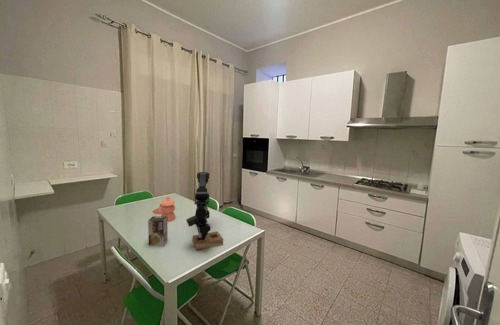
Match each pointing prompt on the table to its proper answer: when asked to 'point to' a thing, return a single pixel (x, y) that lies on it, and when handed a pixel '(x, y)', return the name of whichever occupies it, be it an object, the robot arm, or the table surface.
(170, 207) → the ceramic vessels
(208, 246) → the bore block
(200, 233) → the pin
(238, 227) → the table surface
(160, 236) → the coffee box
